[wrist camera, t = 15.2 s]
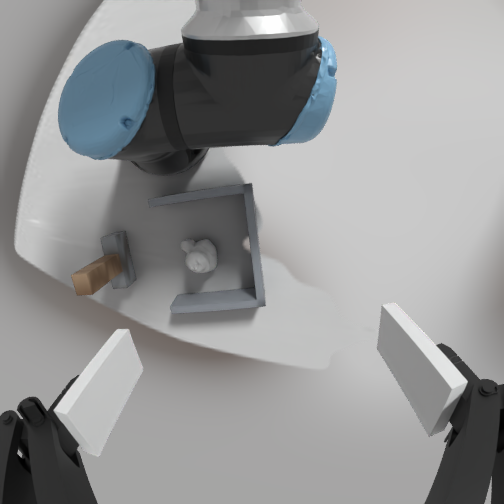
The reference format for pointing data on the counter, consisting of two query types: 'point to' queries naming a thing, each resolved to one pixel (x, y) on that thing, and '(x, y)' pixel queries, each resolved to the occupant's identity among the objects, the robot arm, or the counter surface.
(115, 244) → the scraper
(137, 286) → the counter surface
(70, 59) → the counter surface
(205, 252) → the rubber duck
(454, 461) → the robot arm
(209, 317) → the counter surface
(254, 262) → the box
